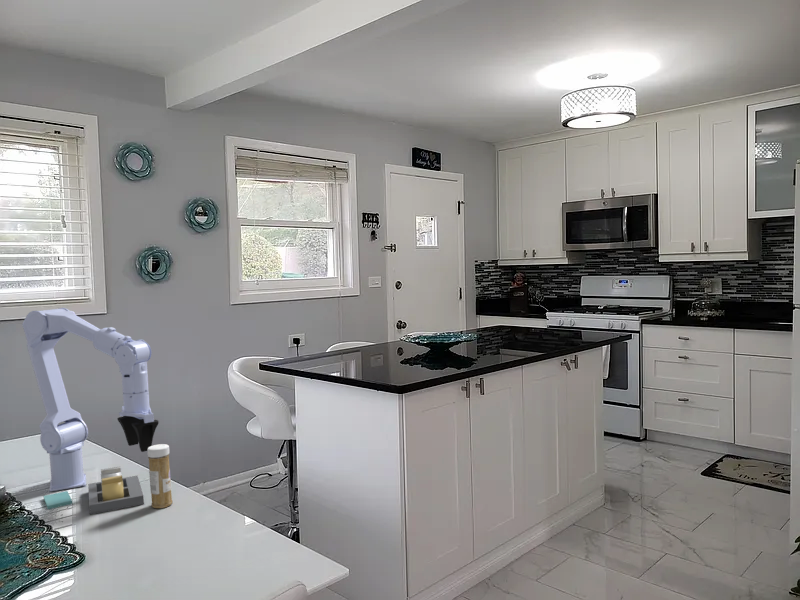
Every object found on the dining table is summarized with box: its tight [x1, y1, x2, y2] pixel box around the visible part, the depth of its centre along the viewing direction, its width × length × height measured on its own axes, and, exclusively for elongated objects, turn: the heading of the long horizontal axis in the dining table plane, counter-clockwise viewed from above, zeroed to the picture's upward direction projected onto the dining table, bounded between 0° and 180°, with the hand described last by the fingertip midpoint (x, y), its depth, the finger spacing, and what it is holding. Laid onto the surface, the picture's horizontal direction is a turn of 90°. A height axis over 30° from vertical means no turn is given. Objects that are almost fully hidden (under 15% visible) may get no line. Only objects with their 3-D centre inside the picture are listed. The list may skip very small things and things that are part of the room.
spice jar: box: [146, 443, 173, 509], centre depth 143 cm, size 5×5×14 cm
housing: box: [87, 475, 145, 515], centre depth 149 cm, size 16×11×2 cm
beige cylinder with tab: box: [102, 474, 125, 502], centre depth 145 cm, size 4×4×6 cm
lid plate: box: [43, 490, 73, 510], centre depth 148 cm, size 8×5×1 cm, turn 35°
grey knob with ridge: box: [100, 466, 122, 485], centre depth 152 cm, size 4×4×6 cm
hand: (139, 447), depth 153 cm, fingers open, 7 cm apart
